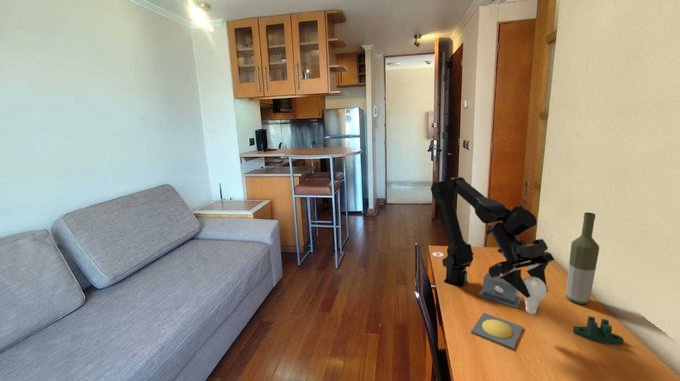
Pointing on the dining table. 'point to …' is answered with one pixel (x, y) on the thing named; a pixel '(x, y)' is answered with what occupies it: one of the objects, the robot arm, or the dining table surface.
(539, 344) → the dining table surface
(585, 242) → the bottle
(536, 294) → the lightbulb
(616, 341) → the mount
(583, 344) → the dining table surface
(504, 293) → the lamp housing
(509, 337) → the parts mat
